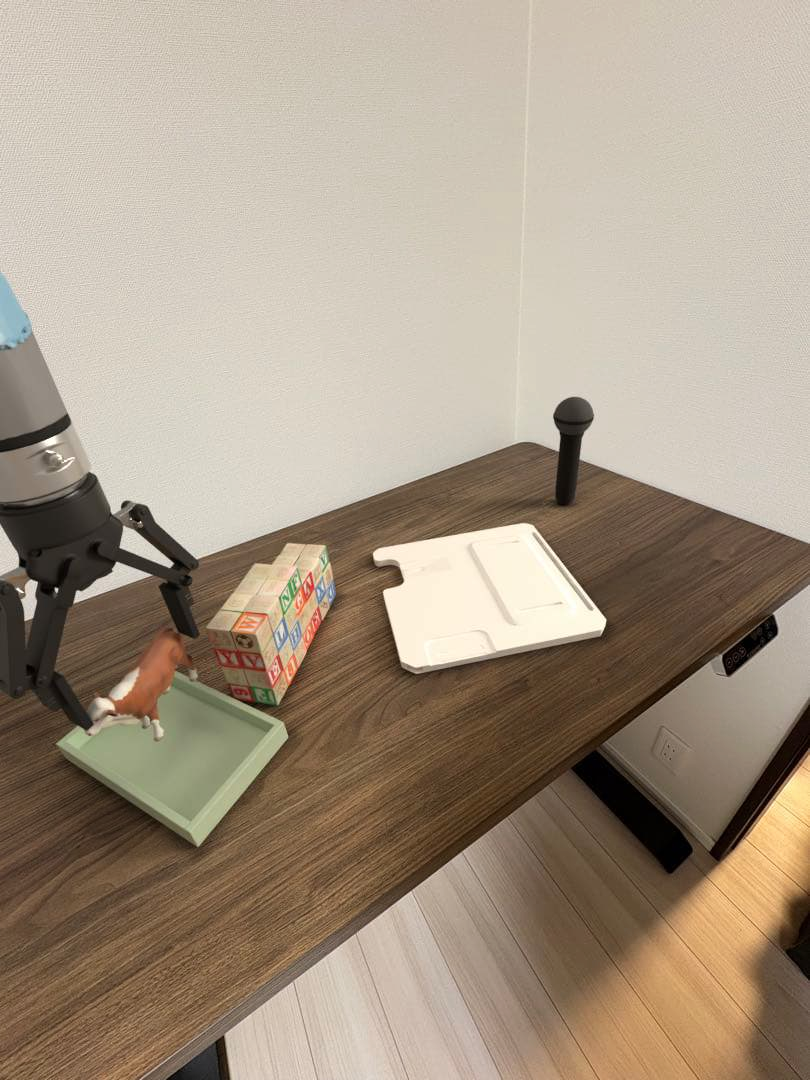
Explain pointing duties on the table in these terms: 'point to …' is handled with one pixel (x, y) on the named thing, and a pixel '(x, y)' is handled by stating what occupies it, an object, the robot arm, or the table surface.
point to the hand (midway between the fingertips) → (140, 674)
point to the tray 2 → (483, 598)
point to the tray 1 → (182, 756)
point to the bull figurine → (142, 686)
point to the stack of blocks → (272, 622)
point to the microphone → (570, 444)
